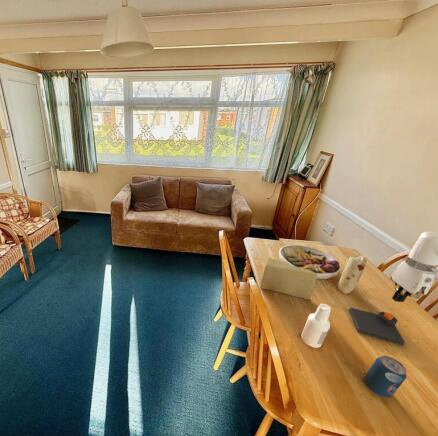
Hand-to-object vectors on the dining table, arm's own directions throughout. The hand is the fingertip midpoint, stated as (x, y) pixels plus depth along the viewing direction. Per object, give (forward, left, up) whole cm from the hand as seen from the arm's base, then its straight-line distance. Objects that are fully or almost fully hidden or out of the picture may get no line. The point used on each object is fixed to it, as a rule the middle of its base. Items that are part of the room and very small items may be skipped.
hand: (397, 300), depth 93 cm
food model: (+10, -17, -13) cm, 24 cm away
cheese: (+38, -3, -13) cm, 40 cm away
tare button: (0, 0, -10) cm, 10 cm away
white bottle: (+30, +24, -13) cm, 40 cm away
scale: (+5, +5, -13) cm, 14 cm away
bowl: (+25, -33, -13) cm, 44 cm away
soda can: (+13, +35, -13) cm, 39 cm away
